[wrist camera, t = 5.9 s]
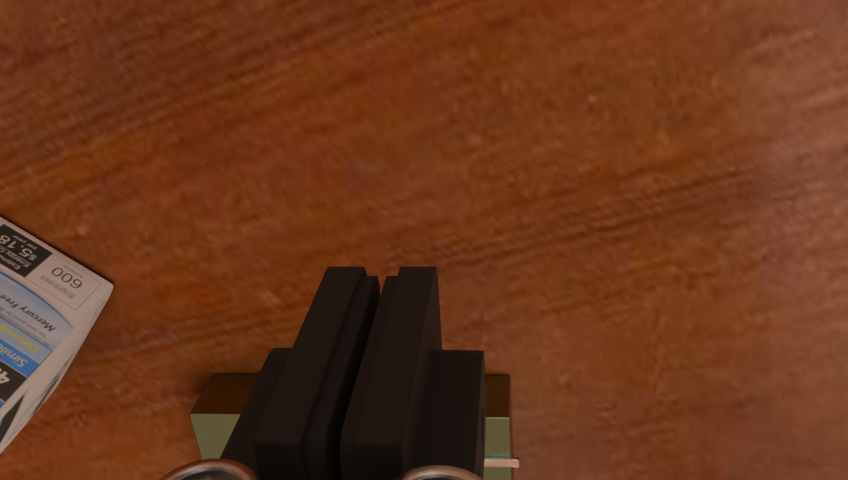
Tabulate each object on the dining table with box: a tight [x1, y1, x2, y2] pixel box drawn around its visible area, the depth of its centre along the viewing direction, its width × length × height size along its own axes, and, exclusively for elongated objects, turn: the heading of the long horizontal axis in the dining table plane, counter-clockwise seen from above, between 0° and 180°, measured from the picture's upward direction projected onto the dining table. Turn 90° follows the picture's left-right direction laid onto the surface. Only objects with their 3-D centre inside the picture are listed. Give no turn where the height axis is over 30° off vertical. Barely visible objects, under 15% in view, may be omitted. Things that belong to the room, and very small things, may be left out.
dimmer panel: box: [190, 374, 519, 480], centre depth 32 cm, size 12×12×3 cm
